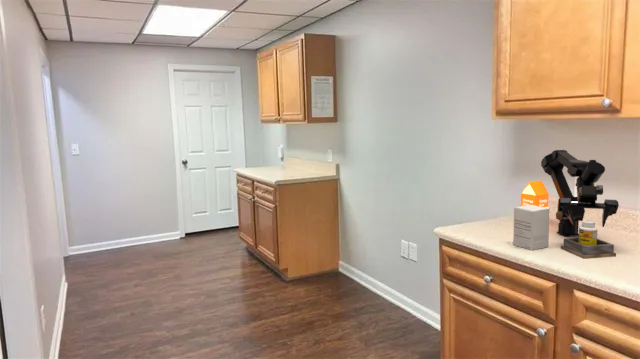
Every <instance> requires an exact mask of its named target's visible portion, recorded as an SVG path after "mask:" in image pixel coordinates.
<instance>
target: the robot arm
mask: <svg viewBox="0 0 640 359" xmlns="http://www.w3.org/2000/svg"><path fill="white" fill-rule="evenodd" d="M540 166H541V168H542V169H543V172H544V173H546V174H547V175H548V176H550V178H551V180H552V182H553V185H554V187H555V189H556V193H557V195H558V197H559V198H558V199H557V200H558V201H557V211H556V212H555V219H556V220H557V221H559V223H558V225H557V226H558V231H556V234H559V235H561V236H563V237H567V238H570V237H579V223H580V222H582V221H584V217H585V214H586V209H595V210H602V217H601V218H602V219H601V224H602V228H604V227H605V224H606V221H607V220H608V217H610V216H613V215H615V214H617V212H618V210H619V207H620V205H619V202H618V200H617V199H604V202H603V203H602V202H596V201H598V195H599V196H602V195H603V194H604V186H603V185H602V184H599V185H596V186H595V183H597V182H598V181H599V180H600V179H601V177H602V175H603V174H604V173H605V171H606V167H605V166H604V165H603V164H602V163H601V162H598V161H597V160H596V159H589V161H586V160H582V159H578V158H576V157H575V156H573V155H572V154H570V153H569V152H568V151H567V150H565V149H555V150H553V151H552V152H551V153H549V154H547V155H545V156H543V158H542V159H541V162H540ZM564 167H566V168H567V170H566V171H567V172H566V173H567V174H568V175H569V176H570V177H573V178H576V182H575V187H576V195H577V196H574V195H573V192H572V191H571V187H570V186H569V184H568V181H567V178H566V177H565V174H564V172H563V170H564Z"/></svg>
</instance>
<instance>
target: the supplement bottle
mask: <svg viewBox="0 0 640 359" xmlns="http://www.w3.org/2000/svg"><path fill="white" fill-rule="evenodd" d="M578 234H579V236H578V237H579V244H582V245H584V246H589V245H597V239H598V227H596V222H595V221H593V220H583V221H581V225H580V226H578Z"/></svg>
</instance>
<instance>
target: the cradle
mask: <svg viewBox="0 0 640 359" xmlns="http://www.w3.org/2000/svg"><path fill="white" fill-rule="evenodd" d="M562 241H563V243H562V245H561V246H560V249H561V250H563V251H565V252H568V253H571V254H573V255H574V256H576V257H579V258H582V260H583V259H597V258H608V257H609V258H610V257H617V253H616V252H615V251H614V248H615V245H614V244H613V243H611V242H608V241H605V240H602V239H599V238H597V245H589V246H584V245H582V244H579V236H577V237H567V238H565V237H563V240H562Z"/></svg>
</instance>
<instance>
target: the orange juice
mask: <svg viewBox="0 0 640 359" xmlns="http://www.w3.org/2000/svg"><path fill="white" fill-rule="evenodd" d="M549 194H550V193H549V192H548V190H547V188H546V186H545V184H544V183H543V181H542V180H534V181H528V184H526V186H525V187H524V189H523V190H522V192H520V206H526V205H535V206H539V207H545V208H549Z"/></svg>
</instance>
